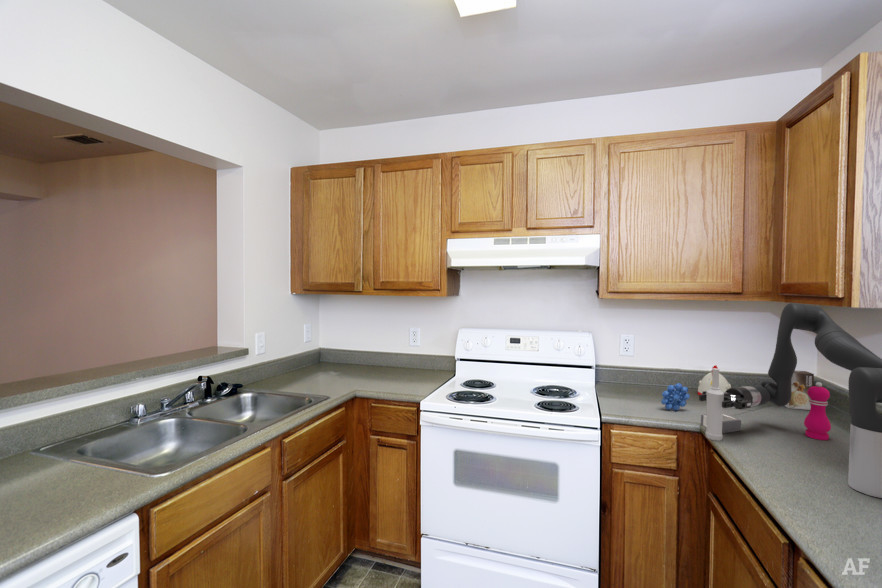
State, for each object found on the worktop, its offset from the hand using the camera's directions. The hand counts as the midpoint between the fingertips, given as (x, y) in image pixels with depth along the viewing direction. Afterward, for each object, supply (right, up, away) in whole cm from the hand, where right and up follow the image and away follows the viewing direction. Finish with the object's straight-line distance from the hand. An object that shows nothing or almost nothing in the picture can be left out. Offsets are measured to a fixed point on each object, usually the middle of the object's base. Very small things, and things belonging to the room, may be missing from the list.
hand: (711, 401), depth 145 cm
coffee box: (+63, -13, +37) cm, 74 cm away
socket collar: (+11, -13, +11) cm, 21 cm away
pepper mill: (+40, -14, +3) cm, 42 cm away
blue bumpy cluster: (+5, -12, +33) cm, 35 cm away
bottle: (+2, -14, +1) cm, 14 cm away
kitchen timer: (+37, -12, +54) cm, 67 cm away
